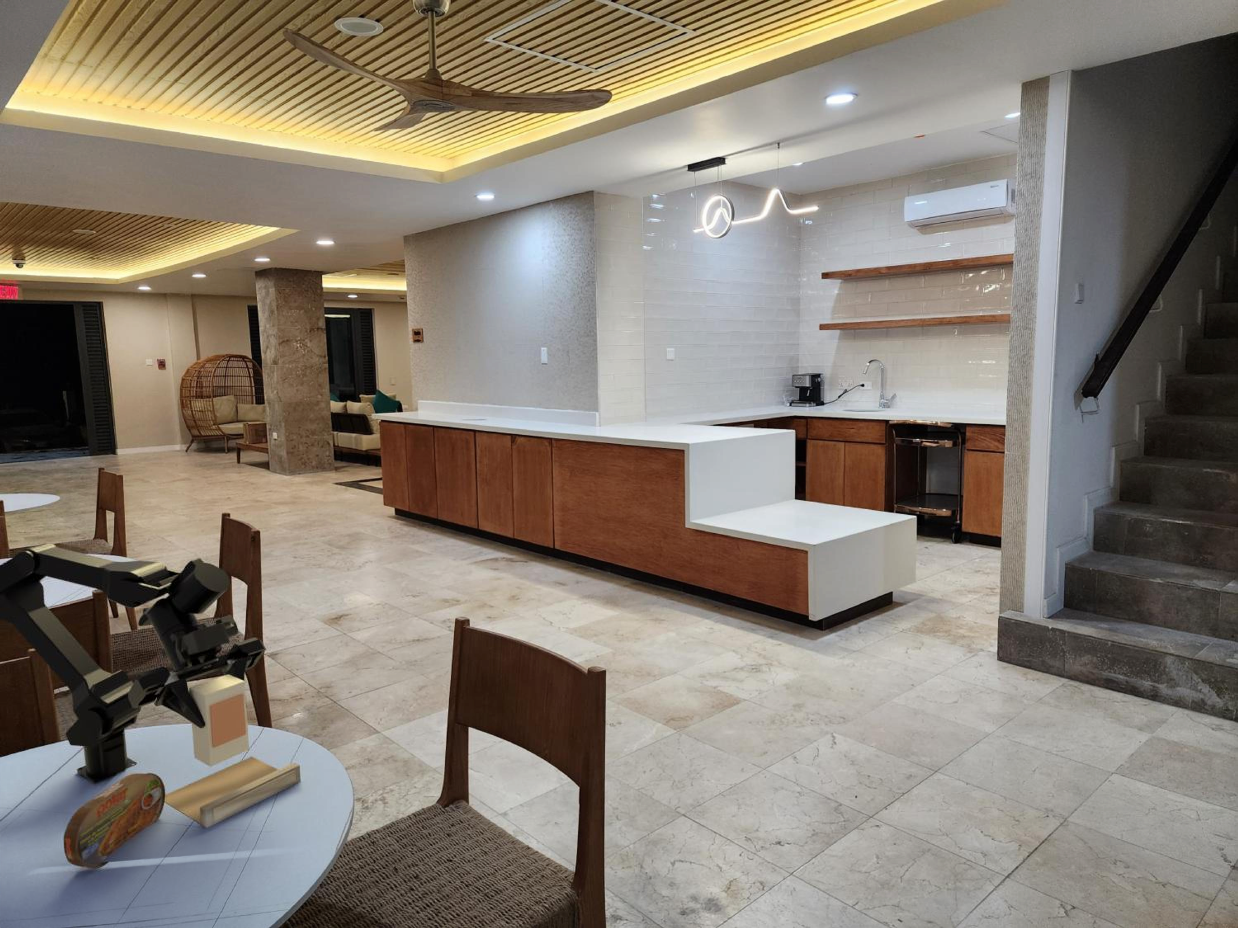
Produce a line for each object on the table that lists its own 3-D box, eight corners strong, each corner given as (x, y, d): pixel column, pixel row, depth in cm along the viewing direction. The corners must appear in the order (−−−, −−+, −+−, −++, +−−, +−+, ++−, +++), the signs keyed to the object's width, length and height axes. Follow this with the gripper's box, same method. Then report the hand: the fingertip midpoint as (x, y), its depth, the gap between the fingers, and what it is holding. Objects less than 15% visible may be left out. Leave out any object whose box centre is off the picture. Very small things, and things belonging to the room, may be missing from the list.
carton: (194, 757, 119) (189, 687, 118) (233, 741, 124) (228, 674, 122) (211, 767, 117) (206, 695, 115) (250, 750, 121) (245, 681, 120)
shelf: (158, 801, 121) (157, 781, 121) (251, 759, 133) (250, 741, 133) (208, 832, 113) (206, 811, 113) (302, 784, 126) (300, 765, 125)
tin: (82, 882, 103) (75, 821, 102) (61, 879, 103) (55, 819, 102) (169, 815, 117) (164, 762, 116) (151, 813, 118) (146, 760, 117)
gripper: (130, 620, 112) (177, 715, 107) (255, 587, 127) (301, 669, 122) (108, 662, 117) (153, 754, 113) (231, 625, 132) (274, 705, 128)
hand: (224, 718), depth 119 cm, fingers closed on carton, 6 cm apart
